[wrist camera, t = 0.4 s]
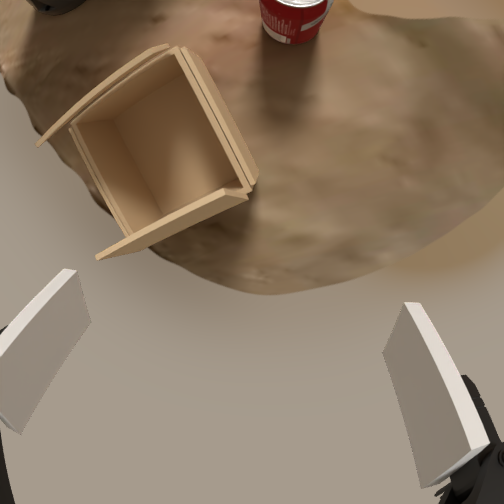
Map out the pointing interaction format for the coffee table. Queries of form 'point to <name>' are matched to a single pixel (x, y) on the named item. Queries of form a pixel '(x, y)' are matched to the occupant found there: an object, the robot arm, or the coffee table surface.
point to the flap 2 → (175, 222)
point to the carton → (162, 141)
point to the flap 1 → (103, 89)
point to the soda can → (293, 19)
